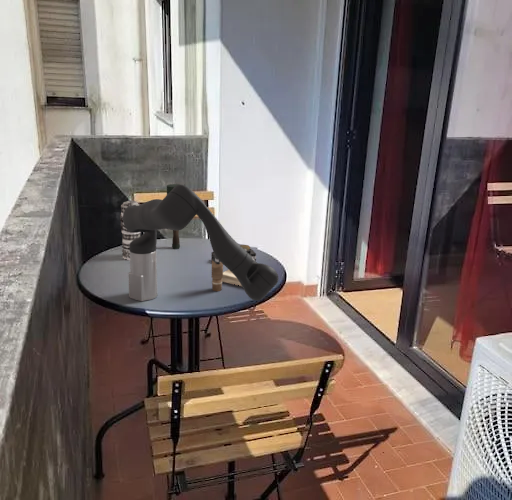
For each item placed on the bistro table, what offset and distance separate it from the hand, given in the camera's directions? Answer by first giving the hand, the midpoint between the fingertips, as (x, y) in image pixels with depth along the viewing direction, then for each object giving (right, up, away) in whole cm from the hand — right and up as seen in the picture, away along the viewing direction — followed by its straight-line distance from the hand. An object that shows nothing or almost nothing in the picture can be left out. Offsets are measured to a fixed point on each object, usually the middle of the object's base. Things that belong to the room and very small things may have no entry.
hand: (227, 250), depth 169 cm
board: (+6, -11, +28) cm, 31 cm away
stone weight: (0, -5, +50) cm, 51 cm away
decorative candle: (-45, -3, +48) cm, 66 cm away
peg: (-5, -15, +16) cm, 22 cm away
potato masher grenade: (-28, +1, +64) cm, 70 cm away
